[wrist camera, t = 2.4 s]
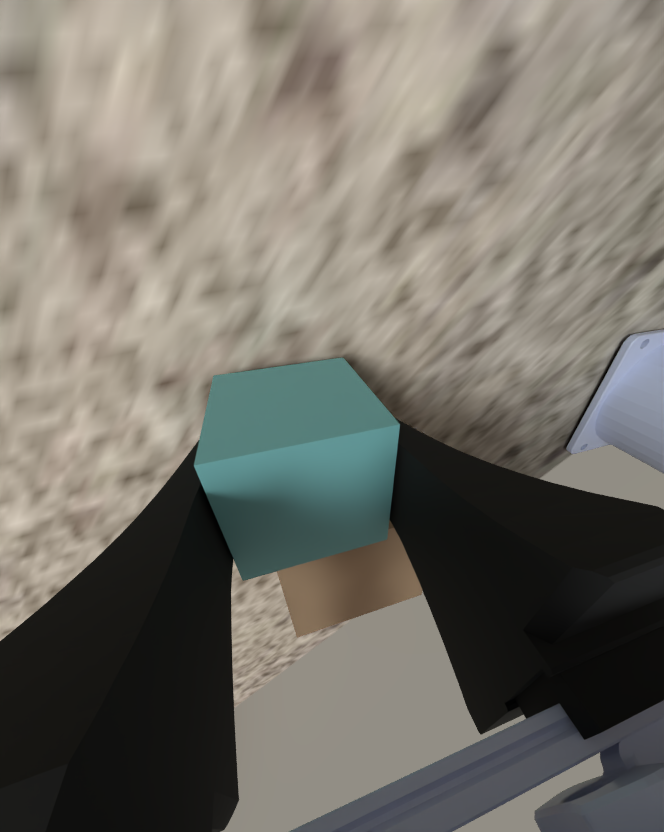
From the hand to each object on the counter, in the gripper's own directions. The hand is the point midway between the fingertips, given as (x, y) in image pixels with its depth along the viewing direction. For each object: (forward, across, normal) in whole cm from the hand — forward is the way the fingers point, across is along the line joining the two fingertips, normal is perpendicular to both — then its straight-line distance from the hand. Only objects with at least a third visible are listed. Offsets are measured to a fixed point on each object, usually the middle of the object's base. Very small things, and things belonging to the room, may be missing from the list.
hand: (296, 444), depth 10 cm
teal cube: (+2, 0, 0) cm, 2 cm away
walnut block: (+3, -2, +9) cm, 10 cm away
